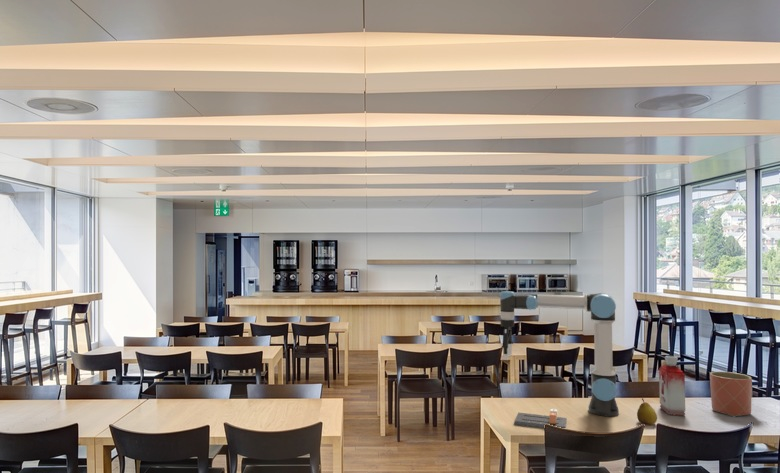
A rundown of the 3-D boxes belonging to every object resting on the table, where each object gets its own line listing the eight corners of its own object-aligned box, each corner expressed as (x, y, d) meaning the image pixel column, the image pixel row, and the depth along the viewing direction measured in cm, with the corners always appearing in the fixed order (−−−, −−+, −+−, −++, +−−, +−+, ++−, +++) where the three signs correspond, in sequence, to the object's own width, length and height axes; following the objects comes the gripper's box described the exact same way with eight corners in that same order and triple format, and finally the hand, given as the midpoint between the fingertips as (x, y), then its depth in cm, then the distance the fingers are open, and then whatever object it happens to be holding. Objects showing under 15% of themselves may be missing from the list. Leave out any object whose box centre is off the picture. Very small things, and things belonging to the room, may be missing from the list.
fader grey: (557, 417, 256) (557, 409, 256) (556, 419, 252) (556, 411, 253) (550, 416, 257) (550, 408, 257) (550, 418, 254) (550, 410, 254)
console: (566, 421, 256) (566, 417, 256) (565, 431, 242) (565, 426, 242) (518, 416, 265) (518, 412, 265) (514, 424, 251) (514, 420, 251)
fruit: (659, 427, 249) (658, 402, 250) (639, 425, 252) (638, 401, 252) (655, 421, 258) (654, 398, 258) (635, 420, 260) (635, 396, 261)
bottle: (687, 416, 266) (686, 359, 268) (666, 415, 268) (665, 358, 270) (677, 408, 280) (676, 354, 282) (657, 407, 282) (656, 353, 284)
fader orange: (556, 421, 250) (556, 413, 250) (555, 423, 246) (555, 415, 246) (550, 420, 251) (549, 412, 251) (549, 423, 247) (549, 414, 247)
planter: (727, 406, 286) (726, 370, 287) (761, 416, 268) (760, 378, 269) (702, 408, 281) (701, 372, 282) (735, 419, 263) (734, 380, 263)
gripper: (503, 316, 294) (504, 353, 293) (496, 321, 271) (497, 361, 270) (517, 317, 291) (517, 354, 290) (511, 322, 268) (511, 362, 267)
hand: (507, 357), depth 280 cm, fingers open, 13 cm apart
